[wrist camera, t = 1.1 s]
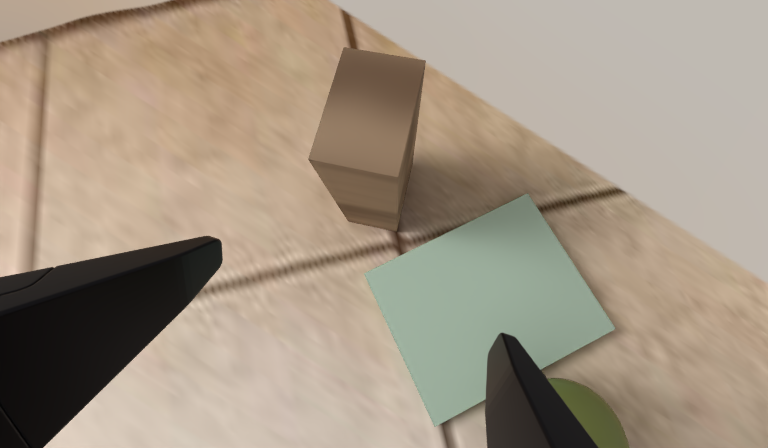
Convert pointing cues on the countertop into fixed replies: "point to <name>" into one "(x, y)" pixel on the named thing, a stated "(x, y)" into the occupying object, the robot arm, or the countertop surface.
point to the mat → (484, 303)
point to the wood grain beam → (369, 135)
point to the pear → (592, 413)
